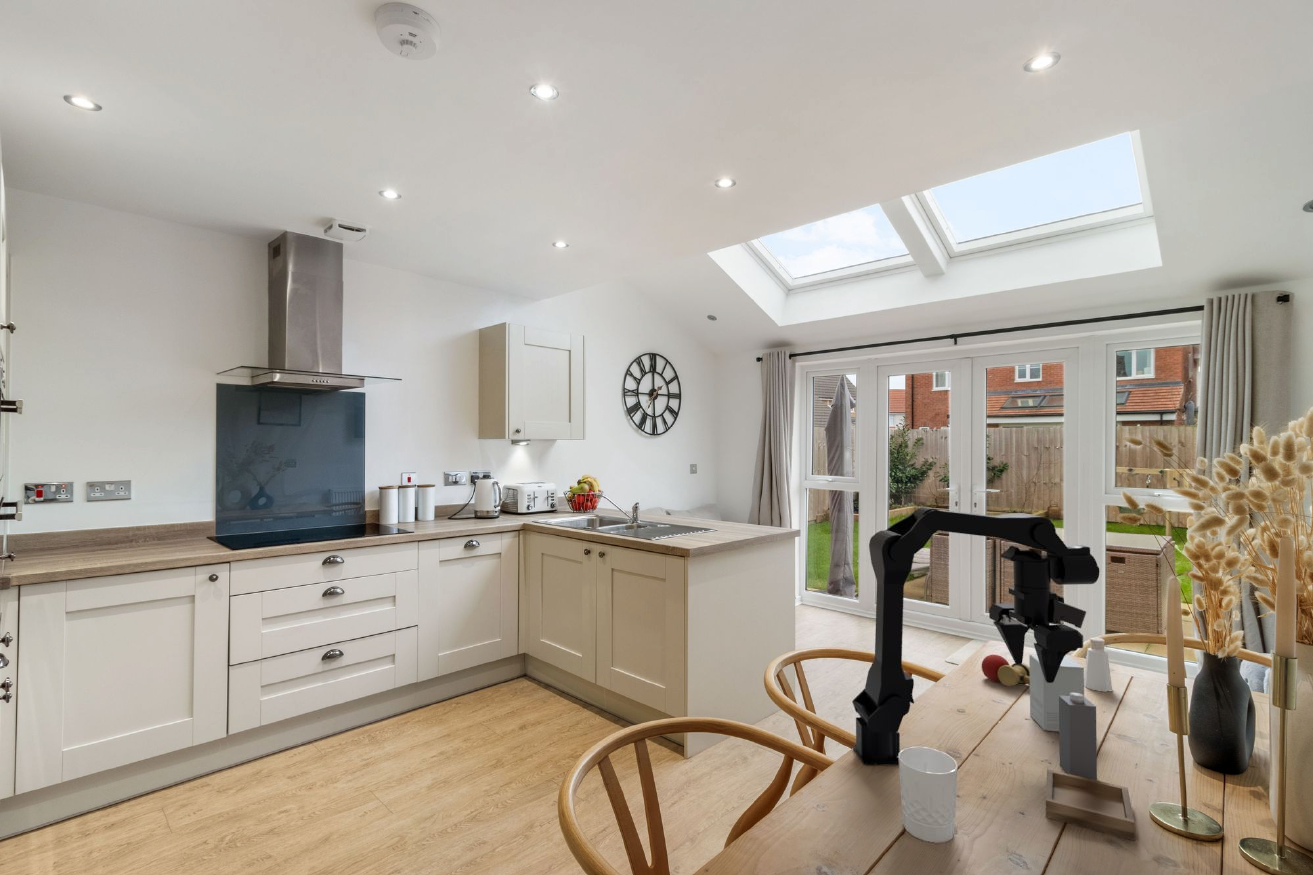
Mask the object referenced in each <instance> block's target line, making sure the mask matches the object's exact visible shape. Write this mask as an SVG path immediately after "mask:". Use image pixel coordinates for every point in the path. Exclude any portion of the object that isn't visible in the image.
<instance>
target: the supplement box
mask: <svg viewBox="0 0 1313 875" xmlns="http://www.w3.org/2000/svg"><path fill="white" fill-rule="evenodd" d="M1028 657H1029V659H1028V660H1029V666H1028V667H1029V668H1030V685H1029V715H1030V716H1031V718H1032V719H1033V720H1034V721H1036V723H1037V724H1038V725H1039V726H1040V727H1041V729H1042V730H1044V731H1049V732H1050V731H1051V732H1059V695H1060V696H1070V693H1079V694H1082V695H1084V696H1085V685H1084V676H1085V668H1084V667H1083V666H1082V665H1081V664H1079V663H1078V662H1077V661H1075V660H1073V658H1071V657H1070V656H1068V655H1065V656H1064V658H1063V660H1062V662H1061V665H1060V667H1059V670H1058V672H1057V675H1056V677H1055V680H1054V682H1053V683H1047V682H1046V680H1045V678H1044V675H1043V672H1042V669H1041V666H1040V663H1039V659H1038V656H1037V653H1036V654H1033V653H1032V654H1031V653H1030V654H1029V656H1028Z"/></svg>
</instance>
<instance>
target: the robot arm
mask: <svg viewBox="0 0 1313 875" xmlns="http://www.w3.org/2000/svg"><path fill="white" fill-rule="evenodd" d="M1056 530H1057V529H1056V527H1055V525H1054V523H1053V521H1052V520H1051V519H1049V517H1045V516H1039V515H1037V514H1036V515H1035V514H1030V513H1029V514H1028V513H1026V512H1025V513H1024V512H1016V513H1003V514H999V515H997V514H996V515H988V514H987V515H986V514H979V513H971V512H963V511H961V512H960V511H954V510H953V511H951V510H943V509H937V508H934V507H933V508H932V507H928V506H921V507H919V508H917V509H916V510H914V511H913V512H912V513H911V514H908V516H906V517H904V518H902V519H900V520H898V521H897V522H895V523H893V524H892V525H890V526H889V527H888V528H886V529H885V530H879V531H878V532H876V533H875V534H873V535H872V536H871V537H870V540H869V543H868V548H869V555H870V562H871V566H872V569H873V572H874V576H875V579H876V599H875V600H876V601H875V602H876V604H875V607H876V608H875V636H874V637H875V638H874V640H875V642H874V660H873V662H872V663H871V665H870V667H869V669H868V671H867V677H866V682H865V686H864V689H863V690H862V691H860V692H859V694H858V695H857V696H856V697H854V699H852V705H853V707H854V711H855V712H856V714H858V715H859V717H855V744H853V745H852V749H853V750H854V752H855V753H856V755H857V756H858V758H859V759H860V761H861V762H862V764H863V765H865V766H881V765H882V766H885V765H887V766H888V765H891V766H893V765H894V766H896V765H897V766H899V759H898V754H899V752H900V751H901V750H900V748H901V743H900V740H901V739H900V732H899V730H900V727H901V725H902V721H903V719H904V717H905V715H907V714H909V711H910V710H911V704H915V700H914V698H913V691H914V686H915V685H914V684H915V680H914V678H913V677H912V676H910V675H909V674H908V673H907V672H906V671H905V670H904V669H903V660H902V659H903V630H904V628H903V627H904V594H905V584H906V582H907V580H908V578H909V576H910V574H911V573H912V572H911V571H912V568H913V564H914V558H915V555H916V554H917V553H918V552H919V551H921V550H922V549H924V547H925V546H926V545H927V544H928V542H929V541H930V539H931V538H932V537H933V535H935V533H937V532H944V533H953V534H954V533H956V534H963V535H972V536H979V537H989V538H995V539H996V538H997V539H1001V540H1004V541H1008V542H1011V543H1014V544H1018V545H1021V546H1025V547H1029V548H1031V549H1020V548H1019V547H1018V546H1017V547H1016V546H1014V545H1009V547H1008V548H1007V549H1006V550H1004V551H1003V552H1002V553H1001V554H1000V558H1002V559H1004V560H1007V561H1011V562H1012V563H1013V567H1012V568H1013V569H1012V570H1013V573H1012V574H1013V575H1012V576H1013V587H1008V594H1010V595H1011V596H1013V603H993V604H992V605H991V606H990V607H989V608H988V613H989V614H988V615H989V619H991V620H992V621H993V622H992V623H993V625H994V626H995V627H996V629H997V631H998V632H999V634H1000V636H1001V638H1002V640H1003V643H1004V644H1005V645H1006V648H1007V650H1008V652H1009V654H1010V655H1011V657H1012V659H1013V661H1014V663H1016V664H1022V663H1023V660H1024V650H1025V639H1026V637H1025V636H1026V634H1027V632H1028V631H1030V630H1032V631H1033V638H1034V640H1035V642H1033V646H1034V650H1035V653H1036V654H1037V656H1038V659H1039V663H1040V666H1041V669H1042V672H1043V675H1044V678H1045V680H1046V682H1047V683H1053V682H1054V680H1055V677H1056V675H1057V672H1058V670H1059V667H1060V665H1061V662H1062V660H1063V658H1064V656H1067V655H1068V654H1069V653H1070V652H1075V651H1078V649H1083V648H1084V635H1083V633H1081V632H1080V631H1079V630H1077V629H1075V628H1074V627H1076V628H1078V629H1082V626H1083V624H1084V621H1085V618H1086V614H1087V611H1086V610H1084V609H1081V608H1078V607H1075V606H1074V605H1070V604H1068V603H1066V602H1065V598H1064V597H1063V596H1060V595H1058V594H1057V593H1056V592H1054V591H1051V587H1052V585H1051V580H1052V582H1053V583H1054V584H1056V585H1058V586H1059V585H1060V586H1062V585H1063V586H1064V585H1065V586H1066V585H1067V586H1068V585H1072V586H1073V585H1094V584H1095V583H1096V582H1097V581H1098V579H1099V577H1100V567H1099V566H1098V563H1097V560H1096V559H1095V557H1094V555H1092V554H1091V547H1090V546H1087V545H1082V544H1081V545H1079V544H1078V545H1077V544H1076V545H1072V546H1067V545H1066V544H1065V542H1064V541H1063V540H1062V539H1061V537H1060V536H1059V535H1058V534H1057V531H1056ZM1037 550H1038V551H1042V552H1045V553H1046V554H1040V553H1039V552H1038V551H1037ZM1061 621H1062V622H1064V623H1067V624H1070V625H1073V626H1074V627H1071V626H1068V625H1067V624H1061V623H1062V622H1061Z"/></svg>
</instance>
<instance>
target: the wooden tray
mask: <svg viewBox="0 0 1313 875" xmlns="http://www.w3.org/2000/svg"><path fill="white" fill-rule="evenodd" d="M1045 779H1046V782H1045V818H1049V819H1052V820H1056V821H1060V822H1062V823H1067V824H1071V825H1074V826H1079V827H1082V828H1085V829H1090V830H1093V831H1097V832H1101V833H1105V834H1108V835H1112V836H1115V837H1118V838H1119V837H1120V838H1123V839H1127V840H1130V841H1136V829H1135V828H1136V822H1135V818H1134V813H1133V807H1132V803H1131V797H1130V793H1129V787H1127V786H1122V785H1119V784H1114V783H1111V782H1110V783H1109V782H1106V781H1105V782H1104V781H1101V780H1098V779H1088V778H1084V777H1080V776H1075V775H1071V774H1067V773H1066V772H1061V771H1057V770H1055V769H1054V770H1053V769H1049V768H1046V778H1045Z"/></svg>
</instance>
